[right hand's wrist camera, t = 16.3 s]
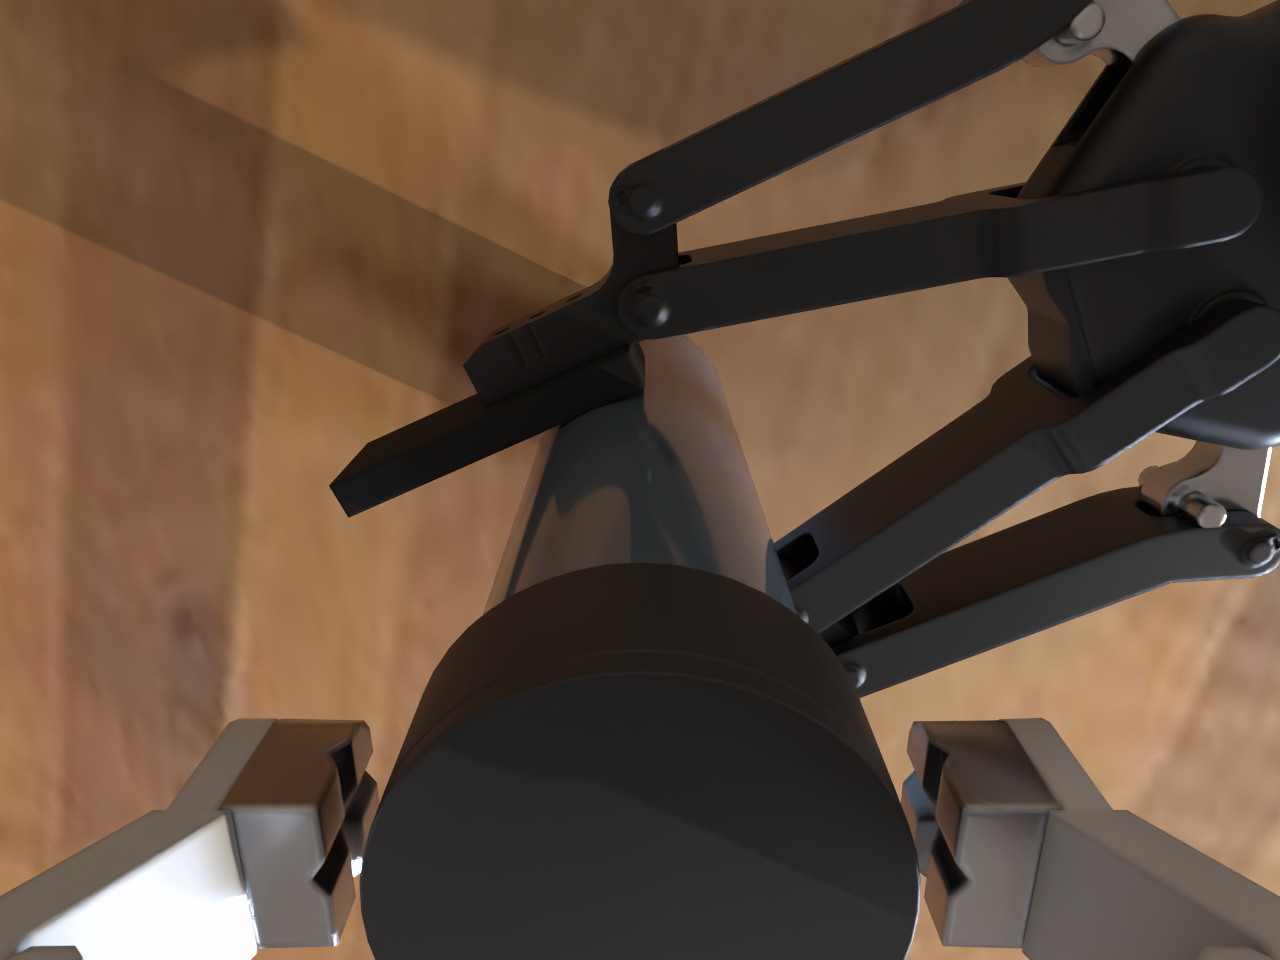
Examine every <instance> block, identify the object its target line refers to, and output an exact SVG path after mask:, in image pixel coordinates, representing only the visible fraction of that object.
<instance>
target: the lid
mask: <svg viewBox="0 0 1280 960" xmlns="http://www.w3.org/2000/svg"><path fill="white" fill-rule="evenodd" d="M920 884H921V880H920V872H919V863H918V855H917V850H916V847H915V843H914V840H913V837H912V833H911V830H910V827H909V823H908V821H907V818H906V816H905V813H904V811H903V808H902V806H901V803H900V801H899V799H898V796H897V793H896V790H895V788H894V785H893V783H892V780H891V778H890V775H889V773H888V770H887V768H886V765H885V763H884V760H883V757H882V755H881V752H880V750H879V747H878V745H877V742H876V740H875V737H874V735H873V732H872V730H871V727H870V725H869V722H868V719H867V717H866V714H865V712H864V709H863V707H862V704H861V702H860V699H859V697H858V694H857V692H856V690H855V688H854V686H853V684H852V682H851V680H850V677H849V675H848V673H847V671H846V669H845V668H844V666H843V665H842V664H841V662H840V661H839V659H838V658H837V656H836V655H835V653H834V652H833V650H832V649H831V648H830V646H829V645H828V644H827V643H826V642H825V641H824V640H823V639H822V638H821V637H820V636H819V635H818V633H817V632H816V631H815V630H814V629H813V628H812V627H811V626H810V625H809V624H807V623H806V622H805V621H804V620H802V619H801V618H800V617H799V616H798V615H796V614H795V613H794V612H793V611H791V610H790V609H789V608H788V607H786V606H784V605H783V604H781V603H779V602H778V601H776V600H774V599H773V598H771V597H770V596H768V595H766V594H765V593H763V592H761V591H759V590H757V589H754V588H752V587H750V586H748V585H745V584H743V583H741V582H739V581H736V580H734V579H731V578H728V577H725V576H722V575H718V574H715V573H712V572H708V571H705V570H701V569H696V568H690V567H684V566H679V565H673V564H659V563H641V562H638V563H622V564H607V565H601V566H596V567H590V568H585V569H579V570H575V571H572V572H568V573H565V574H562V575H559V576H556V577H552V578H549V579H546V580H544V581H541V582H539V583H537V584H535V585H533V586H530V587H528V588H526V589H524V590H522V591H519V592H517V593H515V594H514V595H512V596H511V597H509V598H507V599H506V600H504V601H503V602H501V603H499V604H498V605H496V606H494V607H493V608H491V609H490V610H489V611H488V612H486V613H485V614H484V615H483V616H481V617H480V618H479V619H478V620H477V621H475V622H474V623H473V624H472V625H471V626H469V627H468V628H467V629H466V630H465V631H464V633H463V634H462V635H461V636H460V637H459V638H458V639H457V640H456V641H455V642H454V644H453V645H452V646H451V647H450V648H449V649H448V651H447V652H446V654H445V655H444V657H443V658H442V660H441V661H440V663H439V664H438V666H437V667H436V668H435V670H434V672H433V674H432V676H431V678H430V680H429V682H428V684H427V686H426V688H425V691H424V693H423V695H422V697H421V700H420V702H419V705H418V708H417V710H416V713H415V715H414V718H413V720H412V723H411V725H410V728H409V730H408V733H407V735H406V738H405V740H404V743H403V746H402V748H401V751H400V753H399V756H398V758H397V761H396V763H395V766H394V768H393V771H392V773H391V776H390V778H389V781H388V784H387V786H386V789H385V791H384V794H383V796H382V799H381V802H380V804H379V806H378V809H377V811H376V814H375V817H374V819H373V822H372V824H371V827H370V831H369V834H368V838H367V841H366V845H365V848H364V851H363V857H362V866H361V874H360V898H361V913H362V917H363V922H364V926H365V930H366V935H367V939H368V943H369V945H370V948H371V950H372V953H373V955H374V957H375V960H905V958H906V956H907V953H908V951H909V948H910V946H911V943H912V941H913V937H914V932H915V927H916V923H917V918H918V914H919V904H920Z"/></svg>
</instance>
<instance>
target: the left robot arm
mask: <svg viewBox="0 0 1280 960" xmlns="http://www.w3.org/2000/svg"><path fill="white" fill-rule="evenodd" d="M1089 54H1093V55H1095V56H1097V57H1099V58H1101V59H1102V60H1103V61H1104V62H1105V63H1106V64H1107V65H1106V66H1105V68H1104V69H1103V71H1102V72H1101V74H1100V75H1099V77H1098V78H1097V79H1096V81H1095V82H1094V84H1093V85H1092V87H1091V88H1090V90H1089V91H1088V93H1087V94H1086V96H1085V97H1084V99H1083V100H1082V101H1081V103H1080V104H1079V106H1078V107H1077V109H1076V110H1075V112H1074V113H1073V115H1072V116H1071V118H1070V119H1069V121H1068V122H1067V123H1066V125H1065V126H1064V128H1063V129H1062V131H1061V132H1060V134H1059V135H1058V137H1057V138H1056V140H1055V141H1054V142H1053V144H1052V145H1051V147H1050V148H1049V150H1048V151H1047V153H1046V154H1045V156H1044V157H1043V159H1042V160H1041V162H1040V163H1039V164H1038V166H1037V167H1036V169H1035V170H1034V172H1033V173H1032V175H1031V176H1030V178H1029V179H1028V181H1027V182H1023V183H1018V184H1013V185H1008V186H1003V187H998V188H993V189H988V190H983V191H977V192H972V193H967V194H962V195H958V196H953V197H950V198H946V199H944V200H943V201H940V202H936V203H931V204H926V205H921V206H916V207H911V208H906V209H900V210H895V211H890V212H885V213H880V214H875V215H870V216H865V217H859V218H854V219H849V220H844V221H839V222H834V223H829V224H824V225H819V226H813V227H808V228H803V229H798V230H793V231H788V232H783V233H778V234H773V235H767V236H762V237H757V238H752V239H747V240H742V241H737V242H732V243H727V244H721V245H716V246H711V247H706V248H701V249H696V250H691V251H686V252H681V253H678V243H677V226H676V223H677V222H679V221H681V220H683V219H685V218H687V217H689V216H692V215H694V214H696V213H698V212H700V211H702V210H704V209H706V208H709V207H711V206H713V205H715V204H717V203H719V202H721V201H723V200H726V199H728V198H730V197H732V196H734V195H736V194H738V193H740V192H743V191H745V190H747V189H749V188H751V187H753V186H755V185H757V184H760V183H762V182H764V181H766V180H768V179H770V178H772V177H775V176H777V175H779V174H781V173H783V172H785V171H787V170H789V169H792V168H794V167H796V166H798V165H800V164H802V163H804V162H806V161H809V160H811V159H813V158H815V157H817V156H819V155H821V154H823V153H826V152H828V151H830V150H832V149H834V148H836V147H838V146H840V145H843V144H845V143H847V142H849V141H851V140H853V139H855V138H857V137H860V136H862V135H864V134H866V133H868V132H870V131H872V130H874V129H877V128H879V127H881V126H883V125H885V124H887V123H889V122H891V121H894V120H896V119H898V118H900V117H902V116H904V115H906V114H908V113H911V112H913V111H915V110H917V109H919V108H921V107H923V106H925V105H928V104H930V103H932V102H934V101H936V100H938V99H940V98H942V97H945V96H947V95H949V94H951V93H953V92H955V91H957V90H959V89H962V88H964V87H966V86H968V85H970V84H972V83H974V82H976V81H979V80H981V79H983V78H985V77H987V76H989V75H991V74H993V73H996V72H998V71H1000V70H1001V69H1003V68H1005V67H1007V66H1009V65H1011V64H1013V63H1014V62H1016V61H1018V60H1020V59H1023V60H1024V61H1025V62H1026V63H1027V64H1029V65H1031V66H1034V67H1039V68H1047V67H1052V66H1058V65H1063V64H1068V63H1072V62H1076V61H1078V60H1080V59H1081V58H1083V57H1085V56H1087V55H1089ZM608 203H609V207H610V217H611V228H612V240H613V252H614V256H613V264H612V266H611V268H610V270H609V272H608V273H607V274H606V275H605V276H604V277H603V278H602V279H601V280H600V281H599V282H597V283H595V284H594V285H592V286H590V287H588V288H585V289H583V290H581V291H579V292H577V293H575V294H572V295H570V296H568V297H566V298H564V299H562V300H559V301H557V302H555V303H553V304H551V305H549V306H546V307H544V308H542V309H540V310H538V311H536V312H534V313H531V314H529V315H527V316H525V317H523V318H520V319H519V320H517V321H514V322H512V323H510V324H507V325H505V326H503V327H501V328H499V329H497V330H495V331H492V332H491V333H490V334H489V336H488V337H487V338H486V339H485V340H484V341H483V342H482V343H481V344H480V345H479V347H478V348H477V349H476V350H475V351H474V352H473V354H472V355H471V356H470V357H469V359H468V360H467V361H466V362H465V364H464V365H463V366H464V368H465V370H466V372H467V374H468V376H469V378H470V380H471V381H472V383H473V385H474V387H475V389H476V391H477V394H475V395H473V396H471V397H468V398H466V399H464V400H462V401H460V402H457V403H455V404H453V405H451V406H449V407H446V408H444V409H442V410H440V411H437V412H435V413H433V414H431V415H429V416H426V417H424V418H422V419H420V420H418V421H415V422H413V423H411V424H409V425H407V426H404V427H402V428H400V429H398V430H395V431H393V432H391V433H389V434H387V435H384V436H382V437H380V438H378V439H376V440H373V441H371V442H369V443H367V444H366V445H365V447H364V448H363V449H362V450H361V451H360V452H359V453H358V454H357V455H356V456H355V458H354V459H353V460H352V461H351V462H350V463H349V464H348V465H347V466H346V468H345V469H344V470H343V471H342V472H341V473H340V474H339V475H338V476H337V477H336V479H335V480H334V481H333V482H332V483H331V484H330V485H329V487H330V488H331V490H332V491H333V493H334V495H335V496H336V498H337V500H338V501H339V503H340V504H341V506H342V508H343V509H344V511H345V513H346V514H347V516H348V518H349V517H351V516H354V515H356V514H358V513H360V512H363V511H365V510H367V509H370V508H372V507H374V506H376V505H379V504H381V503H383V502H385V501H388V500H390V499H392V498H395V497H397V496H399V495H401V494H404V493H406V492H408V491H410V490H413V489H415V488H417V487H420V486H422V485H424V484H426V483H429V482H431V481H433V480H435V479H438V478H440V477H442V476H445V475H447V474H449V473H451V472H454V471H456V470H458V469H460V468H463V467H465V466H467V465H469V464H472V463H474V462H476V461H479V460H481V459H483V458H485V457H488V456H490V455H492V454H494V453H497V452H499V451H501V450H504V449H506V448H508V447H510V446H513V445H515V444H517V443H519V442H522V441H524V440H526V439H529V438H531V437H533V436H535V435H538V434H540V433H542V432H544V431H547V430H549V429H551V428H553V427H556V426H558V425H560V424H563V423H565V422H567V421H569V420H572V419H574V418H576V417H578V416H581V415H583V414H585V413H587V412H589V411H591V410H594V409H597V408H599V407H601V406H603V405H606V404H608V403H610V402H613V401H615V400H617V399H619V398H622V397H624V396H626V395H628V394H631V393H633V392H635V391H637V390H640V389H642V388H644V387H646V383H645V355H644V353H643V350H642V348H641V346H640V344H639V342H641V341H643V340H645V339H646V340H656V339H661V338H667V337H672V336H677V335H683V334H688V333H693V332H698V331H704V330H709V329H714V328H719V327H725V326H730V325H735V324H741V323H746V322H751V321H756V320H762V319H767V318H772V317H777V316H783V315H788V314H793V313H799V312H804V311H809V310H814V309H820V308H825V307H830V306H836V305H841V304H846V303H851V302H857V301H862V300H867V299H872V298H878V297H883V296H888V295H894V294H899V293H904V292H909V291H915V290H920V289H925V288H931V287H936V286H941V285H946V284H952V283H957V282H962V281H967V280H973V279H978V278H986V277H1008V279H1009V280H1010V282H1011V283H1012V285H1013V286H1014V288H1015V289H1016V291H1017V292H1018V294H1019V295H1020V297H1021V298H1022V300H1023V301H1024V303H1025V304H1026V306H1027V309H1028V346H1029V349H1030V353H1031V356H1030V357H1029V358H1027V359H1026V360H1024V361H1023V362H1021V363H1020V364H1018V365H1017V366H1015V367H1014V368H1013V369H1011V370H1010V371H1008V372H1007V373H1005V374H1004V375H1003V376H1001V377H1000V378H999V379H998V380H997V381H996V382H995V383H994V384H993V386H992V389H991V392H990V394H989V395H988V396H987V397H986V398H985V399H984V400H983V401H981V402H980V403H978V404H977V405H975V406H974V407H972V408H971V409H969V410H968V411H967V412H965V413H964V414H962V415H961V416H959V417H958V418H956V419H955V420H953V421H952V422H950V423H949V424H948V425H946V426H945V427H943V428H942V429H940V430H939V431H937V432H936V433H934V434H933V435H932V436H930V437H929V438H927V439H926V440H924V441H923V442H921V443H920V444H918V445H917V446H915V447H914V448H913V449H911V450H910V451H908V452H907V453H905V454H904V455H902V456H901V457H899V458H898V459H896V460H895V461H894V462H892V463H891V464H889V465H888V466H886V467H885V468H883V469H882V470H880V471H879V472H878V473H876V474H875V475H873V476H872V477H870V478H869V479H867V480H866V481H864V482H863V483H861V484H860V485H859V486H857V487H856V488H854V489H853V490H851V491H850V492H848V493H847V494H845V495H844V496H843V497H841V498H840V499H838V500H837V501H835V502H834V503H832V504H831V505H829V506H828V507H826V508H825V509H824V510H822V511H821V512H819V513H818V514H816V515H815V516H813V517H812V518H810V519H809V520H807V521H806V522H805V523H803V524H802V525H800V526H799V527H797V528H796V529H794V530H793V531H791V532H790V533H789V534H787V535H786V536H784V537H783V538H781V539H780V540H778V541H777V542H775V543H774V546H775V549H776V552H777V555H778V558H779V561H780V564H781V567H782V570H783V573H784V576H785V579H786V582H787V585H788V588H789V591H790V594H791V597H792V600H793V603H794V606H795V609H796V612H797V615H798V616H799V617H800V618H801V619H802V620H804V621H805V622H806V623H807V624H809V625H810V626H811V627H812V628H813V629H814V630H815V631H816V632H817V633H818V635H819V636H820V637H821V638H822V639H823V640H824V641H825V642H826V643H827V644H828V645H829V646H830V648H831V649H832V650H833V652H834V653H835V655H836V656H837V658H838V659H839V661H840V662H841V664H842V665H843V666H844V668H845V669H846V671H847V673H848V675H849V677H850V680H851V682H852V684H853V686H854V688H855V690H856V692H857V694H858V697H859V698H861V697H864V696H867V695H869V694H872V693H875V692H877V691H880V690H883V689H885V688H888V687H891V686H894V685H896V684H899V683H902V682H904V681H907V680H910V679H912V678H915V677H918V676H921V675H923V674H926V673H929V672H931V671H934V670H937V669H939V668H942V667H945V666H948V665H950V664H953V663H956V662H958V661H961V660H964V659H966V658H969V657H972V656H975V655H977V654H980V653H983V652H985V651H988V650H991V649H993V648H996V647H999V646H1002V645H1004V644H1007V643H1010V642H1012V641H1015V640H1018V639H1021V638H1023V637H1026V636H1029V635H1031V634H1034V633H1037V632H1039V631H1042V630H1045V629H1048V628H1050V627H1053V626H1056V625H1058V624H1061V623H1064V622H1066V621H1069V620H1072V619H1075V618H1077V617H1080V616H1083V615H1085V614H1088V613H1091V612H1093V611H1096V610H1099V609H1102V608H1104V607H1107V606H1110V605H1112V604H1115V603H1118V602H1120V601H1123V600H1126V599H1129V598H1131V597H1134V596H1137V595H1139V594H1142V593H1145V592H1147V591H1150V590H1153V589H1156V588H1158V587H1161V586H1164V585H1166V584H1169V583H1176V582H1192V581H1207V580H1222V579H1237V578H1253V577H1257V576H1261V575H1265V574H1266V573H1268V572H1270V571H1271V570H1273V569H1275V568H1276V567H1277V565H1278V564H1279V563H1280V529H1278V528H1276V527H1275V526H1273V525H1271V524H1270V523H1268V522H1267V521H1265V520H1263V519H1262V518H1260V511H1261V505H1262V499H1263V494H1264V488H1265V482H1266V477H1267V471H1268V466H1269V460H1270V454H1271V449H1272V447H1275V446H1278V445H1280V0H1277V1H1275V2H1273V3H1271V4H1268V5H1266V6H1264V7H1262V8H1260V9H1258V10H1255V11H1253V12H1251V13H1248V14H1246V15H1243V16H1240V17H1232V16H1222V15H1215V14H1204V15H1195V16H1191V17H1187V18H1184V19H1180V18H1179V16H1178V15H1177V13H1176V12H1175V10H1174V9H1173V8H1172V6H1171V5H1170V3H1169V2H1168V0H963V1H962V2H961V3H960V4H959V5H958V6H956V7H954V8H952V9H950V10H948V11H946V12H944V13H942V14H940V15H938V16H936V17H934V18H932V19H930V20H927V21H925V22H923V23H921V24H919V25H917V26H915V27H913V28H911V29H909V30H907V31H905V32H903V33H901V34H899V35H896V36H894V37H892V38H890V39H888V40H886V41H884V42H882V43H880V44H878V45H876V46H874V47H872V48H870V49H868V50H866V51H863V52H861V53H859V54H857V55H855V56H853V57H851V58H849V59H847V60H845V61H843V62H841V63H839V64H837V65H835V66H833V67H830V68H828V69H826V70H824V71H822V72H820V73H818V74H816V75H814V76H812V77H810V78H808V79H806V80H804V81H802V82H799V83H797V84H795V85H793V86H791V87H789V88H787V89H785V90H783V91H781V92H779V93H777V94H775V95H773V96H771V97H769V98H766V99H764V100H762V101H760V102H758V103H756V104H754V105H752V106H750V107H748V108H746V109H744V110H742V111H740V112H738V113H735V114H733V115H731V116H729V117H727V118H725V119H723V120H721V121H719V122H717V123H715V124H713V125H711V126H709V127H707V128H705V129H702V130H700V131H698V132H696V133H694V134H692V135H690V136H688V137H686V138H684V139H682V140H680V141H678V142H676V143H674V144H672V145H669V146H667V147H665V148H663V149H661V150H659V151H657V152H655V153H653V154H651V155H649V156H647V157H645V158H643V159H641V160H638V161H636V162H634V163H632V164H630V165H629V166H627V167H626V168H625V169H623V170H622V171H621V172H620V173H619V174H618V176H617V177H616V179H615V180H614V182H613V184H612V186H611V188H610V193H609V200H608ZM1153 432H1157V433H1162V434H1167V435H1172V436H1177V437H1182V438H1187V439H1192V440H1197V441H1196V443H1195V445H1194V447H1193V448H1192V450H1191V451H1190V452H1189V453H1188V454H1187V455H1186V456H1185V457H1183V458H1181V459H1180V460H1178V461H1176V462H1173V463H1170V464H1167V465H1163V466H1160V467H1158V466H1150V467H1148V468H1146V469H1144V470H1143V471H1142V472H1141V473H1140V476H1139V479H1138V481H1139V485H1140V486H1139V487H1130V488H1122V489H1117V490H1113V491H1108V492H1104V493H1100V494H1097V495H1094V496H1091V497H1088V498H1085V499H1082V500H1079V501H1076V502H1074V503H1071V504H1069V505H1066V506H1063V507H1061V508H1058V509H1056V510H1053V511H1051V512H1048V513H1045V514H1043V515H1040V516H1038V517H1035V518H1033V519H1030V520H1027V521H1025V522H1022V523H1020V524H1017V525H1015V526H1012V527H1009V528H1007V529H1004V530H1002V531H999V532H997V533H994V534H991V535H989V536H986V537H984V538H981V539H979V540H976V541H973V542H971V543H968V544H966V545H963V546H961V547H958V548H955V549H953V550H950V551H948V552H945V551H947V550H948V549H950V548H951V547H953V546H954V545H956V544H957V543H959V542H960V541H962V540H963V539H965V538H967V537H968V536H970V535H971V534H973V533H974V532H976V531H977V530H979V529H980V528H982V527H983V526H985V525H986V524H988V523H990V522H991V521H993V520H994V519H996V518H997V517H999V516H1000V515H1002V514H1003V513H1005V512H1006V511H1008V510H1010V509H1011V508H1013V507H1014V506H1016V505H1017V504H1019V503H1020V502H1022V501H1023V500H1025V499H1026V498H1028V497H1030V496H1031V495H1033V494H1034V493H1036V492H1037V491H1039V490H1040V489H1042V488H1043V487H1045V486H1046V485H1048V484H1049V483H1051V482H1053V481H1054V480H1056V479H1057V478H1059V477H1061V476H1064V475H1067V474H1080V473H1086V472H1089V471H1092V470H1095V469H1096V468H1098V467H1100V466H1102V465H1104V464H1105V463H1107V462H1109V461H1110V460H1112V459H1113V458H1115V457H1116V456H1118V455H1119V454H1121V453H1122V452H1124V451H1126V450H1127V449H1129V448H1130V447H1132V446H1133V445H1135V444H1136V443H1138V442H1139V441H1141V440H1143V439H1144V438H1146V437H1147V436H1149V435H1150V434H1152V433H1153ZM943 552H945V553H943ZM942 553H943V554H942Z"/></svg>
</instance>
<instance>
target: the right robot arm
mask: <svg viewBox="0 0 1280 960" xmlns="http://www.w3.org/2000/svg"><path fill="white" fill-rule="evenodd" d="M372 753H373V747H372V741H371V734H370V728H369V726H368V725H367V724H366V723H365V721H364V720H318V719H280V720H278V719H237V720H235V721H232V722H230V723H229V724H228V725H227V726H226V728H225V729H224V730H223V732H222V733H221V735H220V736H219V737H218V739H217V740H216V742H215V743H214V744H213V746H212V747H211V749H210V750H209V751H208V753H207V754H206V756H205V757H204V758H203V760H202V761H201V763H200V764H199V765H198V767H197V768H196V769H195V771H194V772H193V774H192V775H191V776H190V778H189V779H188V781H187V782H186V783H185V785H184V786H183V788H182V789H181V790H180V792H179V793H178V795H177V796H176V797H175V799H174V800H173V802H172V803H171V804H170V806H169V807H168V809H167V810H153V811H151V812H149V813H147V814H145V815H144V816H142V817H140V818H138V819H137V820H135V821H133V822H131V823H129V824H128V825H126V826H124V827H122V828H121V829H119V830H117V831H115V832H113V833H112V834H110V835H108V836H106V837H105V838H103V839H101V840H99V841H98V842H96V843H94V844H92V845H90V846H89V847H87V848H85V849H83V850H82V851H80V852H78V853H76V854H74V855H73V856H71V857H69V858H67V859H66V860H64V861H62V862H60V863H58V864H57V865H55V866H53V867H51V868H50V869H48V870H46V871H44V872H42V873H41V874H39V875H37V876H35V877H34V878H32V879H30V880H28V881H27V882H25V883H23V884H21V885H19V886H18V887H16V888H14V889H12V890H11V891H9V892H7V893H5V894H3V895H2V896H0V960H250V959H252V958H253V957H254V956H255V955H256V954H257V948H288V947H322V946H337V945H338V942H339V940H340V937H341V934H342V932H343V929H344V927H345V924H346V921H347V919H348V916H349V914H350V911H351V908H352V906H353V903H354V901H355V898H356V895H355V888H354V880H353V877H355V876H356V875H357V874H358V873H360V872H361V866H362V857H363V851H364V848H365V845H366V841H367V838H368V834H369V831H370V827H371V824H372V822H373V819H374V817H375V814H376V811H377V809H378V806H379V796H378V787H377V782H376V781H375V780H374V779H373V778H372V777H371V776H370V775H369V774H368V773H367V772H366V771H365V769H366V767H367V764H368V762H369V760H370V757H371V755H372ZM907 753H908V755H909V758H910V760H911V762H912V765H913V767H914V769H915V771H914V772H913V773H912V774H911V775H910V776H909V777H908V778H907V779H906V780H905V781H904V782H903V787H902V798H901V806H902V808H903V811H904V813H905V816H906V818H907V821H908V823H909V827H910V830H911V833H912V837H913V840H914V843H915V847H916V850H917V855H918V863H919V872H920V873H921V874H923V875H924V876H925V877H927V879H926V887H925V894H924V898H925V901H926V904H927V906H928V909H929V911H930V914H931V916H932V919H933V922H934V924H935V927H936V929H937V932H938V935H939V937H940V940H941V942H942V945H943V946H956V947H991V948H1023V950H1022V953H1024V954H1025V955H1026V956H1027V957H1028V958H1029V959H1030V960H1280V896H1278V895H1276V894H1274V893H1272V892H1271V891H1269V890H1267V889H1265V888H1264V887H1262V886H1260V885H1258V884H1257V883H1255V882H1253V881H1251V880H1249V879H1248V878H1246V877H1244V876H1242V875H1241V874H1239V873H1237V872H1235V871H1234V870H1232V869H1230V868H1228V867H1226V866H1225V865H1223V864H1221V863H1219V862H1218V861H1216V860H1214V859H1212V858H1211V857H1209V856H1207V855H1205V854H1203V853H1202V852H1200V851H1198V850H1196V849H1195V848H1193V847H1191V846H1189V845H1188V844H1186V843H1184V842H1182V841H1180V840H1179V839H1177V838H1175V837H1173V836H1172V835H1170V834H1168V833H1166V832H1165V831H1163V830H1161V829H1159V828H1157V827H1156V826H1154V825H1152V824H1150V823H1149V822H1147V821H1145V820H1143V819H1142V818H1140V817H1138V816H1136V815H1134V814H1133V813H1131V812H1129V811H1127V810H1113V809H1112V807H1111V806H1110V805H1109V803H1108V802H1107V800H1106V799H1105V798H1104V796H1103V795H1102V794H1101V792H1100V791H1099V789H1098V788H1097V787H1096V785H1095V784H1094V782H1093V781H1092V780H1091V778H1090V777H1089V776H1088V774H1087V773H1086V771H1085V770H1084V769H1083V767H1082V766H1081V764H1080V763H1079V762H1078V760H1077V759H1076V758H1075V756H1074V755H1073V753H1072V752H1071V751H1070V749H1069V748H1068V746H1067V745H1066V744H1065V742H1064V741H1063V740H1062V738H1061V737H1060V735H1059V734H1058V733H1057V731H1056V730H1055V729H1054V727H1053V726H1052V724H1051V723H1050V722H1048V721H1046V720H1045V719H1043V718H1026V719H999V720H994V721H916V722H913V724H912V727H911V730H910V732H909V738H908V746H907Z"/></svg>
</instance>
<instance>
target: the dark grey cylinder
mask: <svg viewBox="0 0 1280 960" xmlns="http://www.w3.org/2000/svg"><path fill="white" fill-rule="evenodd" d="M639 344H640V346H641V348H642V350H643V353H644V355H645V383H646V387H644V388H642V389H640V390H637V391H635V392H633V393H631V394H628V395H626V396H624V397H622V398H619V399H617V400H615V401H613V402H610V403H608V404H606V405H603V406H601V407H599V408H597V409H594V410H591V411H589V412H587V413H585V414H583V415H581V416H578V417H576V418H574V419H572V420H569V421H567V422H565V423H563V424H560V425H558V426H556V427H553V428H551V429H549V430H547V431H544V433H543V436H542V439H541V442H540V445H539V448H538V451H537V454H536V457H535V460H534V463H533V466H532V469H531V472H530V475H529V478H528V481H527V484H526V487H525V490H524V493H523V496H522V499H521V502H520V505H519V508H518V511H517V514H516V517H515V520H514V523H513V526H512V529H511V532H510V535H509V538H508V541H507V544H506V547H505V550H504V553H503V556H502V559H501V562H500V565H499V568H498V571H497V574H496V577H495V580H494V583H493V586H492V589H491V592H490V595H489V598H488V601H487V604H486V607H485V610H484V613H483V615H484V614H485V613H486V612H488V611H489V610H490V609H491V608H493V607H494V606H496V605H498V604H499V603H501V602H503V601H504V600H506V599H507V598H509V597H511V596H512V595H514V594H515V593H517V592H519V591H522V590H524V589H526V588H528V587H530V586H533V585H535V584H537V583H539V582H541V581H544V580H546V579H549V578H552V577H556V576H559V575H562V574H565V573H568V572H572V571H575V570H579V569H585V568H590V567H596V566H601V565H607V564H622V563H638V562H641V563H659V564H673V565H679V566H684V567H690V568H696V569H701V570H705V571H708V572H712V573H715V574H718V575H722V576H725V577H728V578H731V579H734V580H736V581H739V582H741V583H743V584H745V585H748V586H750V587H752V588H754V589H757V590H759V591H761V592H763V593H765V594H766V595H768V596H770V597H771V598H773V599H774V600H776V601H778V602H779V603H781V604H783V605H784V606H786V607H788V608H789V609H790V610H791V611H793V612H794V613H795V614H796V615H797V612H796V609H795V606H794V603H793V600H792V597H791V594H790V591H789V588H788V585H787V582H786V579H785V576H784V573H783V570H782V567H781V564H780V561H779V558H778V555H777V552H776V549H775V546H774V543H773V540H772V537H771V534H770V531H769V528H768V525H767V522H766V519H765V516H764V513H763V510H762V507H761V504H760V501H759V498H758V495H757V492H756V489H755V486H754V483H753V480H752V477H751V474H750V471H749V468H748V465H747V462H746V459H745V456H744V453H743V450H742V447H741V444H740V441H739V438H738V435H737V432H736V429H735V426H734V423H733V420H732V417H731V414H730V411H729V408H728V405H727V402H726V399H725V396H724V393H723V390H722V387H721V384H720V381H719V378H718V375H717V373H716V371H715V369H714V367H713V365H712V363H711V362H710V360H709V359H708V357H707V356H706V355H705V354H704V353H703V351H702V350H701V349H700V348H699V347H698V346H697V345H695V344H694V343H693V342H692V341H691V340H689V339H688V338H686V337H685V336H683V335H677V336H672V337H667V338H661V339H656V340H646V339H645V340H643V341H641V342H639Z"/></svg>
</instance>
